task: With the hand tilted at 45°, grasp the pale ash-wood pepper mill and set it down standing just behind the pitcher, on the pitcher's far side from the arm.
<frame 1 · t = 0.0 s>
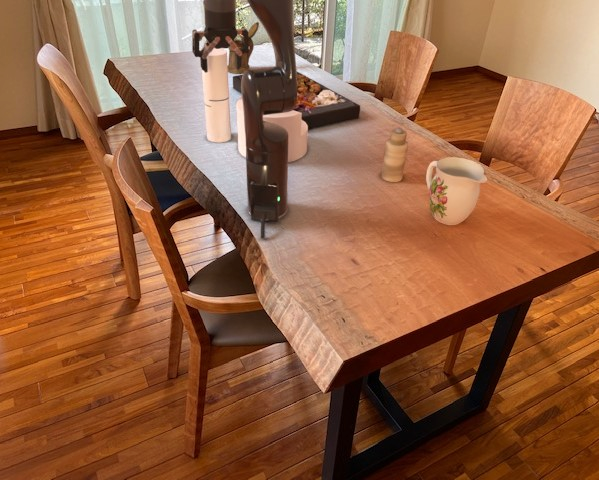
hand: (221, 69, 131), 22 cm above the table, tool pointing down, fingers open, 8 cm apart
wooden mug: (243, 70, 203), on the table
food platter: (292, 102, 175), on the table
pepper mill: (391, 176, 133), on the table
pitcher: (445, 215, 118), on the table
cylindrical container: (219, 138, 149), on the table
container: (272, 148, 145), on the table
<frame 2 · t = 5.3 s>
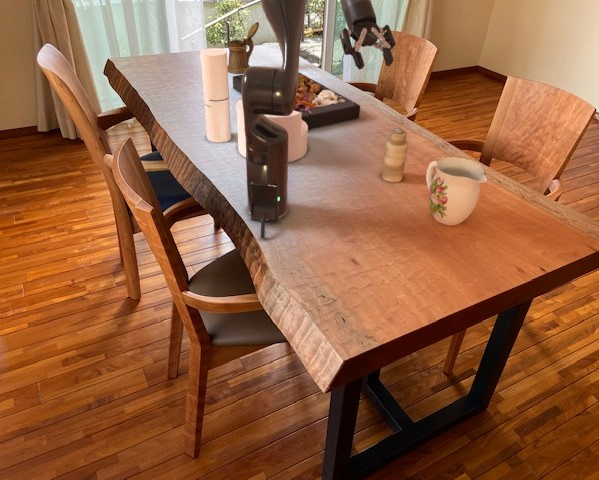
hand: (376, 66, 127), 26 cm above the table, tool tilted 45°, fingers open, 8 cm apart
nothing on the table moved.
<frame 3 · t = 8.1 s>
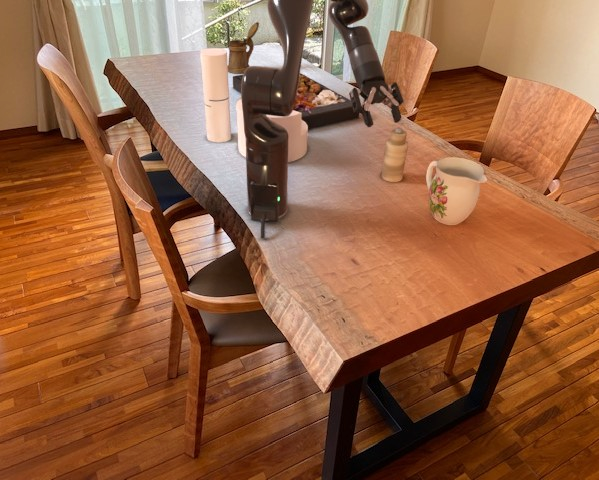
hand: (384, 123, 130), 13 cm above the table, tool tilted 45°, fingers open, 8 cm apart
nothing on the table moved.
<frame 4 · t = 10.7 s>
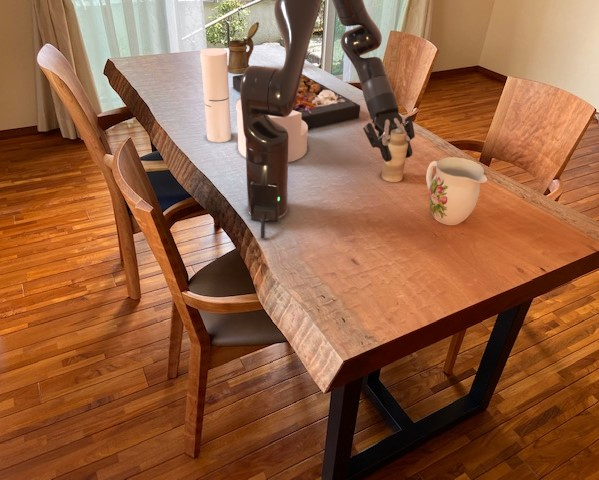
hand: (399, 158, 128), 6 cm above the table, tool tilted 45°, fingers closed on pepper mill, 5 cm apart
pepper mill: (391, 176, 133), on the table, touching gripper
everything else where it was.
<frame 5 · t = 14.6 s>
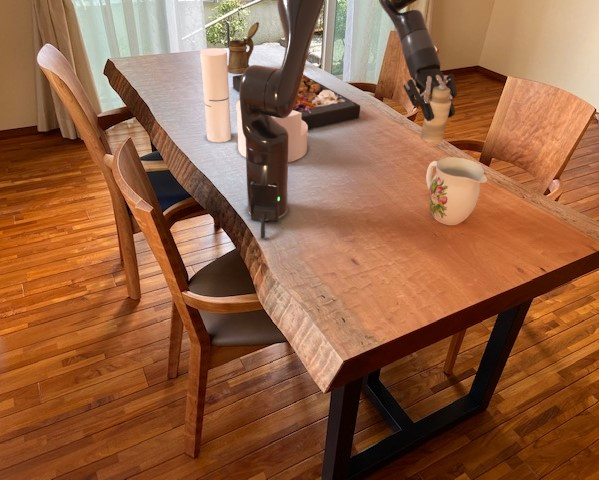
hand: (441, 117, 121), 18 cm above the table, tool tilted 45°, fingers closed on pepper mill, 5 cm apart
pepper mill: (431, 138, 125), point 12 cm above the table, touching gripper
everything else where it was.
when the fingers open (6 cm above the table, at t = 18.5 s): pepper mill stays where it is, on the table.
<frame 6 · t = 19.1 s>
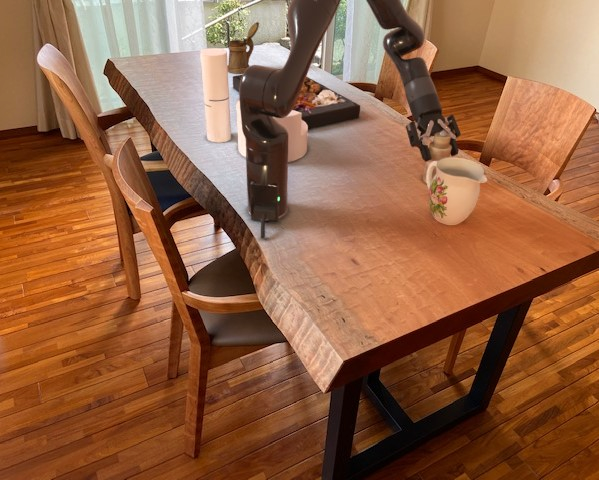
hand: (442, 157, 127), 7 cm above the table, tool tilted 45°, fingers open, 8 cm apart
pepper mill: (433, 180, 132), on the table
everything else where it was.
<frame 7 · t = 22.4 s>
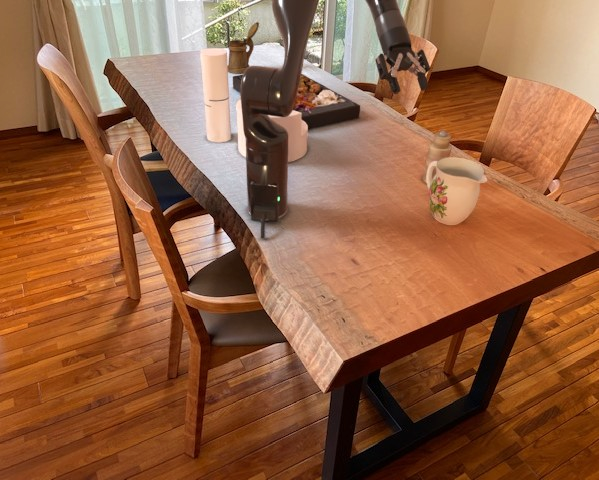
hand: (411, 90, 128), 20 cm above the table, tool tilted 45°, fingers open, 8 cm apart
nothing on the table moved.
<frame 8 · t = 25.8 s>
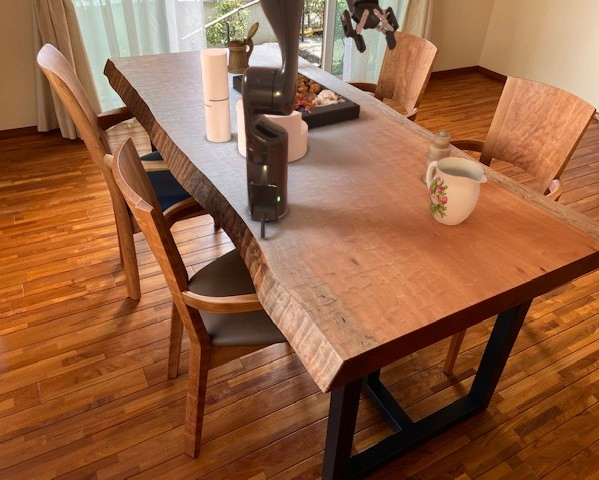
hand: (378, 49, 121), 31 cm above the table, tool tilted 45°, fingers open, 8 cm apart
nothing on the table moved.
at the end: pepper mill inside the target area on the table beside the pitcher (1.3 cm from its centre), on the table; pepper mill tilted 0°; pitcher moved 0.2 cm from its start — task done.
